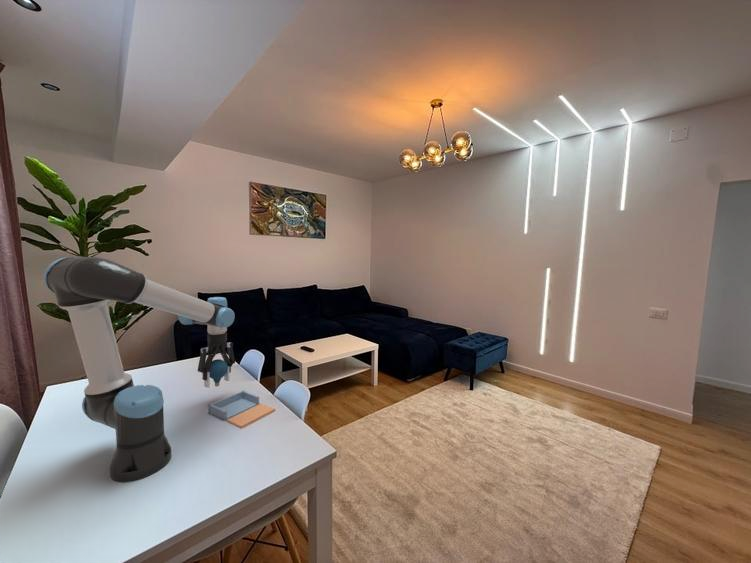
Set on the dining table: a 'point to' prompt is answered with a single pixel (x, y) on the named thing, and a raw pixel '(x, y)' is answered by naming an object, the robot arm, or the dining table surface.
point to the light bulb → (217, 370)
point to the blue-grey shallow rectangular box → (233, 405)
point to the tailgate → (250, 415)
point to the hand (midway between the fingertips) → (217, 383)
